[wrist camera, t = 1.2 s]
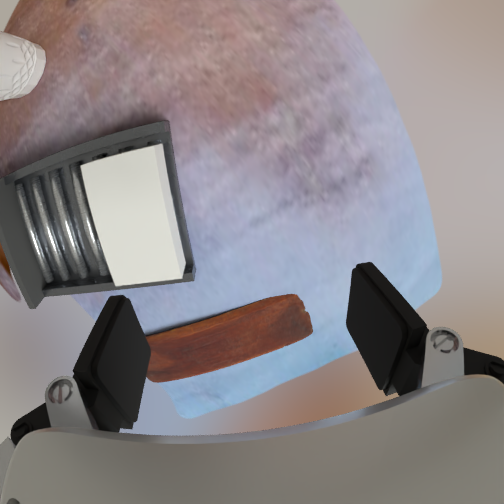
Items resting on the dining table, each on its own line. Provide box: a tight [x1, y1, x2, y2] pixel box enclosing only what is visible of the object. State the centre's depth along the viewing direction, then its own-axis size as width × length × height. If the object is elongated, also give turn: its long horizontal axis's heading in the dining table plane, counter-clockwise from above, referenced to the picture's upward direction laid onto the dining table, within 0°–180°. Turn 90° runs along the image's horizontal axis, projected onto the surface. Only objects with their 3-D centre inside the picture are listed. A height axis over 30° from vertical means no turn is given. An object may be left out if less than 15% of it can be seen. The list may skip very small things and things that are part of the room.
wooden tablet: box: [145, 294, 313, 383], centre depth 35 cm, size 27×10×2 cm, turn 109°
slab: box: [81, 144, 186, 286], centre depth 23 cm, size 12×7×3 cm, turn 6°
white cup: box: [0, 31, 46, 101], centre depth 12 cm, size 8×8×10 cm
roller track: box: [0, 121, 196, 309], centre depth 24 cm, size 16×22×5 cm
